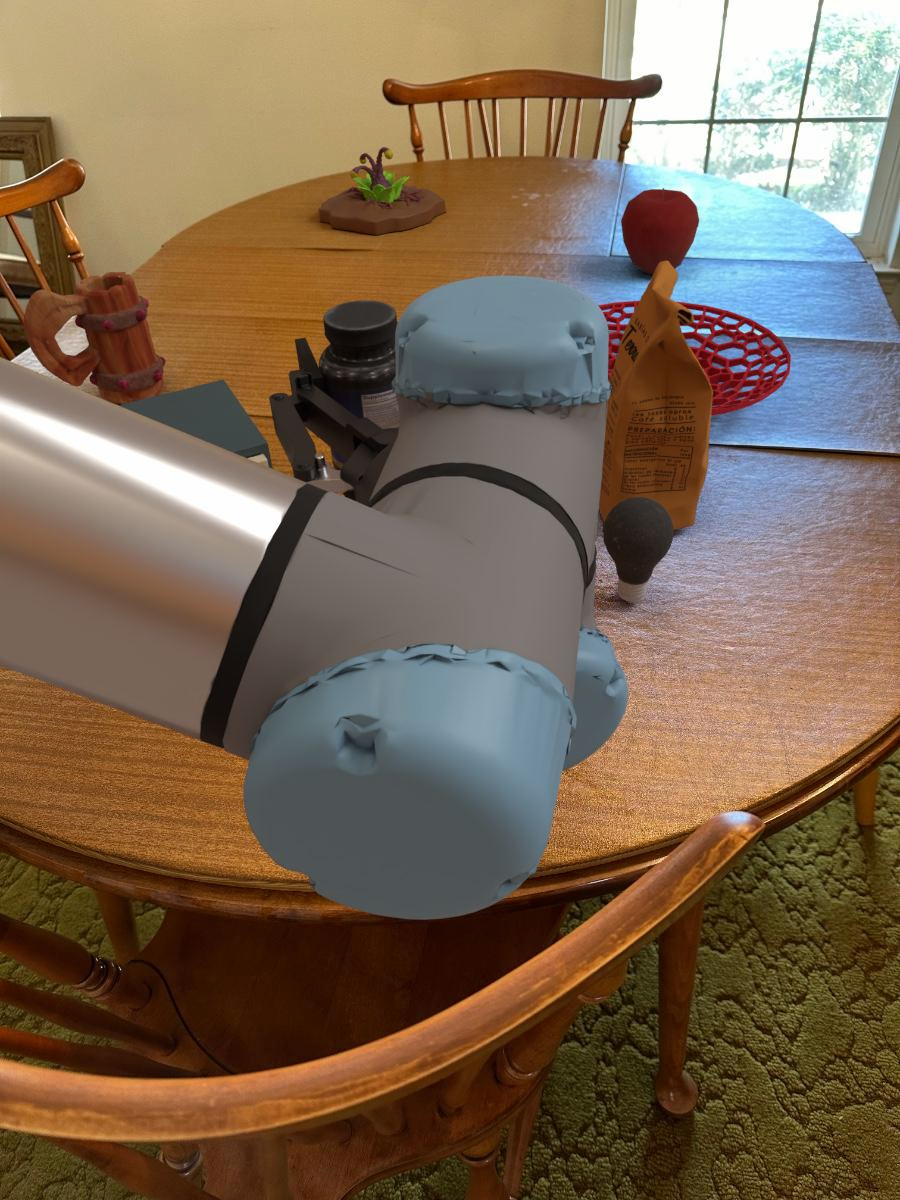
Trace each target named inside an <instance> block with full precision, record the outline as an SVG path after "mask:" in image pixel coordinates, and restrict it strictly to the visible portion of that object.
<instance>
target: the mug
mask: <svg viewBox="0 0 900 1200" xmlns="http://www.w3.org/2000/svg"><path fill="white" fill-rule="evenodd" d="M137 289H138V288H137V286H136V284H135V279H134V278H133V277H132V275H131V274H130V273H127V274H126V271H119V272H118V271H108V272H105V274H103V275H101V276H100V275H90V276H88V277H85V278H83V279H82V280H80V282H79V283H78V284H76V286H75V293H72V294H66V295H62V294H58V293H56V292H52V291H51V290H48V289H39V290H36V291H35V292H34V293H33V294H31V295H30V297H29V299H28V302H27V304H26V307H25V310H24V314H23V332H24V336H25V339H26V341H27V344H28V345H29V348H30V349H31V352H32V353H33V355H34V357H35V358H36V359H37V360H38V362H39V363H40V365H41V366H42V367H43V368H44V369H46V371H48V372H49V373H50V374H52V375H53V376H55V377H56V378H58V379H59V380H61V382H62V381H63V383H64V382H65V384H67V385H69V386H72V387H80V386H82V385H83V384H84V382H85V381H86V379H87V378H88V377H89V382H90V383H91V384H92V385H93V386H96V387H97V388H98V389H97V390H98V394H99V396H100V398H101V399H103V400H106V401H108V402H111V403H113V404H117V405H122V404H126V403H130V402H134V401H138V400H142V399H146V398H150V397H154V396H158V394H159V393H160V391H161V390H162V389H163V387H164V380H163V377H164V373H165V372H164V366H165V365H166V361H167V360H166V359H165V357H163V356H159V355H158V354H157V353H156V350H155V346H154V343H153V339H152V336H151V335H152V334H151V330H150V325H149V323H148V320H147V317H148V315H149V314H148V308H149V306H150V303H149V299H147V298H145V297H143V296H142V295H139V292H138V290H137ZM72 317H75V319H74V324H75V325H76V327H78V328H80V329H83V330H84V333H85V337H86V340H87V344H88V345H87V347H86V348H84V349H83V350H82V351H80V352H78V353H77V354H75V355H73V354H66V353H65V352H63V350H62V348H61V347H60V345H59V343H58V341H57V340H56V335H57V334H58V333H59V332H60V331H61V330H62V329H63V328H64V327H65V325H66V324H67V323H68V322H69V320H71V318H72ZM89 375H90V376H89Z"/></svg>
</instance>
